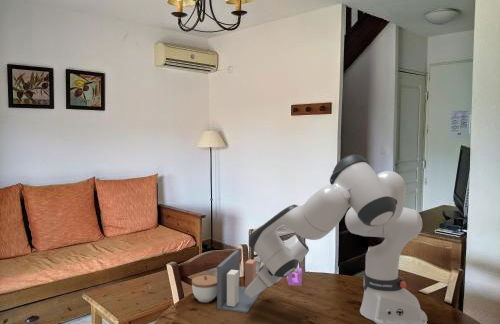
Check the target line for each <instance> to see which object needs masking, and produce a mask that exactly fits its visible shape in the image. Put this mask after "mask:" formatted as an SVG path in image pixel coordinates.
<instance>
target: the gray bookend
mask: <svg viewBox="0 0 500 324" xmlns="http://www.w3.org/2000/svg"><path fill="white" fill-rule="evenodd" d="M240 255H241V254H240V250H239V249H235V250H234V251H233V252H232V253H231V254H230V255H228V256H227V257H226V258H225V259H224V260H222V261H221V262H219V264H218V265H216V277H217V296H216V297H217V298H216V299H217V301H216V304H217V306H216V309H217V310H220V311H221V310H222V311H230V312H238V313H245V314H247V313H248V312H249V311H250V309H251V308H252V306H253V305H254V303H255V302H256V300H257V299H258V298H259V296H260V295H261V293H262V292H260V293H259V294H258V295H256V296H255V297H253V298H250V297H249V296H246V295H245V293H244V292H245V286H241V285H239V302H238V303H237V304H236V306H235V307H233V306H227V273H228V272H229V271H230V270H239V271H240V265H241V264H240V260H241V259H240V257H241V256H240Z"/></svg>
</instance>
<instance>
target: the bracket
mask: <svg viewBox="0 0 500 324" xmlns="http://www.w3.org/2000/svg"><path fill="white" fill-rule="evenodd" d="M296 270H297V271H296V272H295V271H293V272H291V273H290V274H289V275H288V276H287V277H285V278H286V281H287V285H288V286H302V285H303V283H302V280H303V279H302V278H303V277H302V276H303V275H302V274H303V270H302V267H297V268H296Z"/></svg>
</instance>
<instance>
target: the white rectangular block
mask: <svg viewBox="0 0 500 324" xmlns="http://www.w3.org/2000/svg"><path fill="white" fill-rule="evenodd" d="M239 286H240V269H239V270H230V271H229V272H228V273H227V306H233V307H235V306H236V304H237V303H238V302H239Z"/></svg>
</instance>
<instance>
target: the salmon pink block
mask: <svg viewBox="0 0 500 324" xmlns="http://www.w3.org/2000/svg"><path fill="white" fill-rule="evenodd" d="M244 268H245V269H244V270H245V271H244V277H245V278H244V279H245V280H244V283H245V285H244V287H245V289H246V288H247V287H248V286H249V284H250V283H251V282H252V281H253V280H254V279H255V277H256V276H257V260H256V259H251V258H250V259H247V260H246V261H245V265H244Z"/></svg>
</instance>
